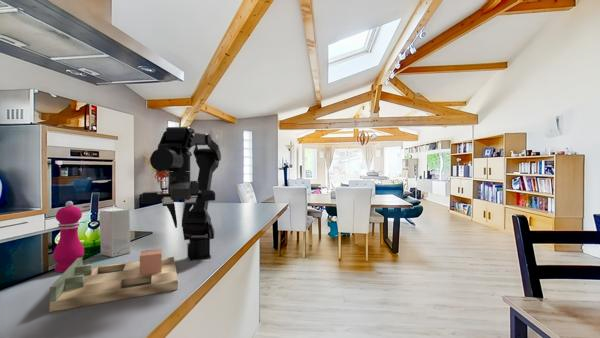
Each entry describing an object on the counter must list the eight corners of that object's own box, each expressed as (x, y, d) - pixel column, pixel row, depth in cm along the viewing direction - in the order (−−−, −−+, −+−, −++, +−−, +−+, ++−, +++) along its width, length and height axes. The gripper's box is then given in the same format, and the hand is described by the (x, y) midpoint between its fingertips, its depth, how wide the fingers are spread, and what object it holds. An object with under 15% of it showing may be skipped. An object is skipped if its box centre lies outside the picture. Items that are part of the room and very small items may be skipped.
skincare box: (130, 253, 99) (131, 209, 99) (110, 258, 93) (110, 211, 93) (119, 249, 103) (119, 207, 103) (98, 254, 98) (98, 209, 98)
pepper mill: (58, 274, 78) (58, 203, 78) (48, 270, 82) (49, 201, 82) (88, 267, 84) (88, 200, 84) (78, 263, 88) (78, 199, 88)
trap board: (173, 263, 87) (173, 247, 87) (177, 289, 68) (177, 268, 68) (77, 276, 77) (77, 258, 77) (49, 311, 57) (49, 287, 57)
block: (161, 266, 78) (161, 248, 78) (161, 272, 74) (161, 253, 74) (140, 269, 76) (140, 251, 76) (139, 275, 72) (139, 255, 72)
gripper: (139, 171, 67) (138, 236, 67) (218, 171, 75) (218, 229, 75) (141, 171, 77) (141, 228, 77) (212, 171, 85) (212, 222, 85)
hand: (179, 227), depth 78 cm, fingers closed
